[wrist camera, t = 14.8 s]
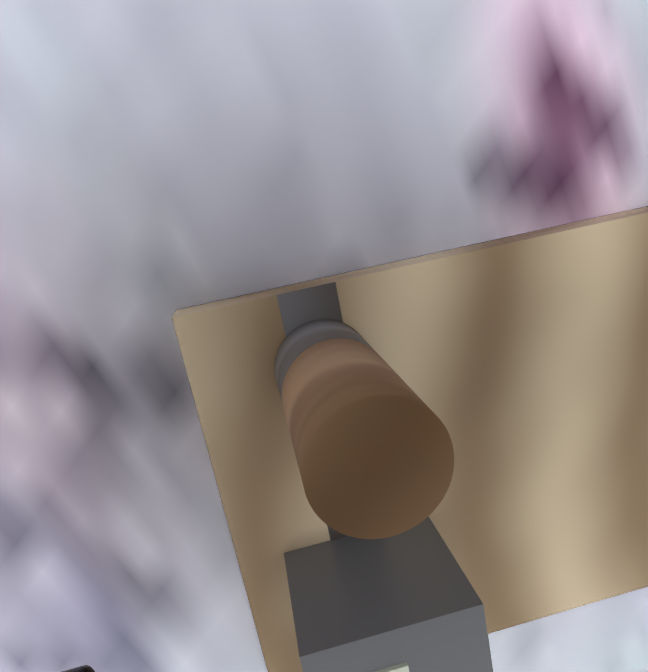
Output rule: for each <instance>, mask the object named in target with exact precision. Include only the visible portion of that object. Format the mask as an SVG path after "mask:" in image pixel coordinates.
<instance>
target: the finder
mask: <svg viewBox="0 0 648 672" xmlns="http://www.w3.org/2000/svg"><path fill="white" fill-rule="evenodd" d="M284 559H285V565H286V572H287V578H288V585H289V591H290V598H291V605H292V611H293V618H294V624H295V631H296V637H297V644H298V651H299V657H300V661H301V665H302V669H303V672H493V668H492V661H491V654H490V647H489V640H488V633H487V626H486V619H485V612H484V605H483V603H482V601H481V599H480V598H479V596H478V595H477V593H476V591H475V590H474V588H473V587H472V585H471V583H470V582H469V580H468V579H467V577H466V575H465V574H464V572H463V571H462V569H461V567H460V566H459V564H458V563H457V561H456V559H455V558H454V556H453V555H452V553H451V551H450V550H449V548H448V547H447V545H446V543H445V542H444V540H443V539H442V537H441V535H440V534H439V532H438V531H437V529H436V527H435V526H434V524H433V523H432V521H431V519H430V518H429V516H428V517H427V518H426V519H425V520H424V521H422V522H421V523H419V524H418V525H417V526H415V527H413V528H411V529H410V530H408V531H405V532H403V533H401V534H398V535H395V536H391V537H387V538H381V539H360V538H355V537H350V536H345V537H342V538H338V539H334V540H330V541H327V542H323V543H319V544H315V545H312V546H308V547H304V548H301V549H297V550H293V551H289V552H286V553H284Z"/></svg>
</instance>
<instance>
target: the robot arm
mask: <svg viewBox="0 0 648 672" xmlns="http://www.w3.org/2000/svg"><path fill="white" fill-rule="evenodd" d="M62 672H95V671H94V670H93V668H92V667H90V666H87V665H84V666H80V667H76V668H73V669H69V670H66V671H62Z"/></svg>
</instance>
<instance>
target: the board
mask: <svg viewBox="0 0 648 672" xmlns="http://www.w3.org/2000/svg"><path fill="white" fill-rule="evenodd" d="M318 319H331V320H337V321H340V322H343V323H345V324H347V325H349V326H350V327H352V328H353V329H355V330H356V331H357V332H358V333H359V334H360V335H361V336H362V337H363V338H364V340H365V341H366V342H367V343H368V344H369V345H370V346H371V347H372V348H373V349H374V350H375V351H376V352H377V353H378V354H379V355H380V356H381V357H382V359H383V360H384V361H385V362H386V363H387V364H388V365H389V366H390V367H391V368H392V369H393V370H394V371H395V372H396V373H397V374H398V375H399V376H400V378H401V379H402V380H403V381H404V382H405V383H406V384H407V385H408V386H409V387H410V388H411V389H412V390H413V391H414V392H415V393H416V394H417V395H418V396H419V398H420V399H421V400H422V401H423V402H424V403H425V404H426V405H427V406H428V407H429V408H430V409H431V410H432V411H433V412H434V413H435V414H436V416H437V417H438V418H439V419H440V420H441V421H442V423H443V424H444V426H445V427H446V429H447V431H448V433H449V435H450V438H451V441H452V444H453V449H454V472H453V476H452V480H451V483H450V486H449V488H448V491H447V492H446V494H445V496H444V498H443V500H442V501H441V502H440V504H439V505H438V507H437V508H436V509H435V510H434V511H433V512H432V513H431V514H430V515H429V518H430V519H431V521H432V523H433V524H434V526H435V527H436V529H437V531H438V532H439V534H440V535H441V537H442V539H443V540H444V542H445V543H446V545H447V547H448V548H449V550H450V551H451V553H452V555H453V556H454V558H455V559H456V561H457V563H458V564H459V566H460V567H461V569H462V571H463V572H464V574H465V575H466V577H467V579H468V580H469V582H470V583H471V585H472V587H473V588H474V590H475V591H476V593H477V595H478V596H479V598H480V599H481V601H482V603H483V605H484V612H485V619H486V626H487V633H488V634H489V633H492V632H495V631H499V630H502V629H505V628H509V627H512V626H516V625H519V624H522V623H526V622H529V621H532V620H536V619H539V618H543V617H546V616H549V615H553V614H556V613H559V612H563V611H566V610H570V609H573V608H576V607H580V606H583V605H586V604H590V603H593V602H597V601H600V600H603V599H607V598H610V597H614V596H617V595H620V594H624V593H627V592H630V591H634V590H637V589H641V588H644V587H647V586H648V206H646V207H641V208H637V209H632V210H628V211H623V212H619V213H614V214H610V215H605V216H601V217H596V218H592V219H587V220H582V221H578V222H573V223H569V224H564V225H560V226H555V227H551V228H546V229H542V230H537V231H533V232H528V233H523V234H519V235H514V236H510V237H505V238H501V239H496V240H492V241H487V242H483V243H478V244H474V245H469V246H465V247H460V248H455V249H451V250H446V251H442V252H437V253H433V254H428V255H424V256H419V257H415V258H410V259H406V260H401V261H396V262H392V263H387V264H383V265H378V266H374V267H369V268H365V269H360V270H356V271H351V272H347V273H342V274H338V275H333V276H328V277H324V278H319V279H315V280H310V281H306V282H301V283H297V284H292V285H288V286H283V287H279V288H274V289H269V290H265V291H260V292H256V293H251V294H247V295H242V296H238V297H233V298H229V299H224V300H220V301H215V302H211V303H206V304H201V305H197V306H192V307H188V308H183V309H179V310H176V311H175V313H174V315H173V317H172V320H173V324H174V327H175V331H176V335H177V338H178V342H179V346H180V349H181V353H182V357H183V360H184V364H185V368H186V371H187V375H188V379H189V383H190V386H191V390H192V394H193V397H194V401H195V405H196V408H197V412H198V416H199V419H200V423H201V427H202V430H203V434H204V438H205V441H206V445H207V449H208V452H209V456H210V460H211V464H212V467H213V471H214V475H215V478H216V482H217V486H218V489H219V493H220V497H221V500H222V504H223V508H224V511H225V515H226V519H227V522H228V526H229V530H230V534H231V537H232V541H233V545H234V548H235V552H236V556H237V559H238V563H239V567H240V570H241V574H242V578H243V581H244V585H245V589H246V592H247V596H248V600H249V603H250V607H251V611H252V615H253V618H254V622H255V626H256V629H257V633H258V637H259V640H260V644H261V648H262V651H263V655H264V659H265V662H266V666H267V670H268V672H303V669H302V665H301V661H300V657H299V651H298V644H297V637H296V631H295V624H294V618H293V611H292V605H291V598H290V591H289V585H288V578H287V572H286V565H285V559H284V553H286V552H289V551H293V550H297V549H301V548H304V547H308V546H312V545H315V544H319V543H323V542H327V541H330V540H334V539H338V538H342V537H345V536H347V535H344V534H342V533H340V532H338V531H336V530H334V529H332V528H331V527H329V526H328V525H326V524H325V523H324V522H323V521H322V520H321V519H320V518H319V517H318V516H317V515H316V513H315V512H314V511H313V509H312V507H311V506H310V504H309V502H308V500H307V497H306V495H305V491H304V487H303V483H302V479H301V475H300V471H299V467H298V463H297V460H296V456H295V452H294V448H293V444H292V440H291V436H290V432H289V428H288V424H287V420H286V416H285V412H284V409H283V405H282V401H281V397H280V393H279V389H278V385H277V381H276V377H275V358H276V355H277V351H278V349H279V347H280V345H281V343H282V342H283V340H284V339H285V338H286V337H287V335H288V334H289V333H290V332H292V331H293V330H294V329H295V328H297V327H298V326H300V325H302V324H304V323H307V322H309V321H313V320H318Z"/></svg>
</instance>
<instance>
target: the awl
mask: <svg viewBox="0 0 648 672" xmlns="http://www.w3.org/2000/svg"><path fill="white" fill-rule="evenodd" d="M275 377H276V381H277V385H278V389H279V393H280V397H281V401H282V405H283V409H284V412H285V416H286V420H287V424H288V428H289V432H290V436H291V440H292V444H293V448H294V452H295V456H296V460H297V463H298V467H299V471H300V475H301V479H302V483H303V487H304V491H305V495H306V497H307V500H308V502H309V504H310V506H311V507H312V509H313V511H314V512H315V513H316V515H317V516H318V517H319V518H320V519H321V520H322V521H323V522H324V523H325V524H326V525H328V526H329V527H331V528H332V529H334V530H336V531H338V532H340V533H342V534H344V535H347V536H350V537H355V538H360V539H381V538H387V537H391V536H395V535H398V534H401V533H403V532H405V531H408V530H410V529H411V528H413V527H415V526H417V525H418V524H419V523H421V522H422V521H424V520H425V519H426V518H427V517H428V516H429V515H430V514H431V513H432V512H433V511H434V510H435V509H436V508H437V507H438V505H439V504H440V502H441V501H442V500H443V498H444V496H445V494H446V492H447V491H448V488H449V486H450V483H451V480H452V476H453V472H454V449H453V444H452V441H451V438H450V435H449V433H448V431H447V429H446V427H445V426H444V424H443V423H442V421H441V420H440V419H439V418H438V417H437V416H436V414H435V413H434V412H433V411H432V410H431V409H430V408H429V407H428V406H427V405H426V404H425V403H424V402H423V401H422V400H421V399H420V398H419V396H418V395H417V394H416V393H415V392H414V391H413V390H412V389H411V388H410V387H409V386H408V385H407V384H406V383H405V382H404V381H403V380H402V379H401V378H400V376H399V375H398V374H397V373H396V372H395V371H394V370H393V369H392V368H391V367H390V366H389V365H388V364H387V363H386V362H385V361H384V360H383V359H382V357H381V356H380V355H379V354H378V353H377V352H376V351H375V350H374V349H373V348H372V347H371V346H370V345H369V344H368V343H367V342H366V341H365V340H364V338H363V337H362V336H361V335H360V334H359V333H358V332H357V331H356V330H355V329H353V328H352V327H350V326H349V325H347V324H345V323H343V322H340V321H337V320H331V319H318V320H313V321H309V322H307V323H304V324H302V325H300V326H298V327H297V328H295V329H294V330H293V331H292V332H290V333H289V334H288V335H287V337H286V338H285V339H284V340H283V342H282V343H281V345H280V347H279V349H278V351H277V355H276V358H275Z"/></svg>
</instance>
